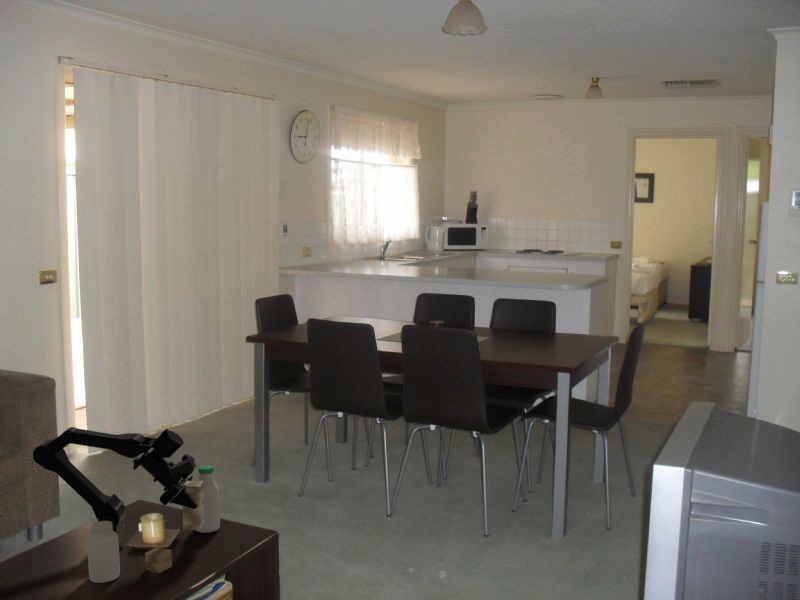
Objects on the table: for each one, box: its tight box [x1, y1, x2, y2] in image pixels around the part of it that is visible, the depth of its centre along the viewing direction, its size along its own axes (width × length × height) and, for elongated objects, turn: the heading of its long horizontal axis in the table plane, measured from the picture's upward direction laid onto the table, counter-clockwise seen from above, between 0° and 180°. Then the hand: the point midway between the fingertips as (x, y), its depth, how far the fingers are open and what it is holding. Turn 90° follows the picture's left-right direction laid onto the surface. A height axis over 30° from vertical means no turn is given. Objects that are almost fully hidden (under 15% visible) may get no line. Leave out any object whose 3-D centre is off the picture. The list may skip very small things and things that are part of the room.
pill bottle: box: [86, 521, 121, 584], centre depth 218 cm, size 8×8×15 cm
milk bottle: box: [195, 464, 221, 534], centre depth 250 cm, size 8×8×20 cm
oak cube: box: [144, 545, 173, 574], centre depth 224 cm, size 5×5×5 cm
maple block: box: [182, 480, 204, 531], centre depth 235 cm, size 5×5×13 cm
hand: (198, 504), depth 235 cm, fingers closed on maple block, 5 cm apart
